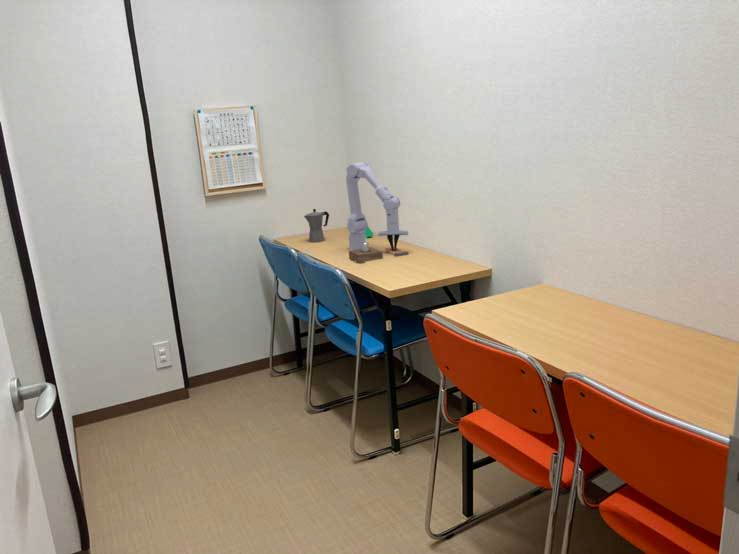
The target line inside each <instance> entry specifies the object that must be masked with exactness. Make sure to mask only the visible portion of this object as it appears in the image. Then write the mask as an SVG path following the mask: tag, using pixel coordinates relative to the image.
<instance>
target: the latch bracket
mask: <svg viewBox="0 0 739 554" xmlns="http://www.w3.org/2000/svg"><path fill="white" fill-rule="evenodd" d="M408 255H410V253H409V251H403V252H401V253H395V254H394V255H393V256H394V257H395V258H396V257H397V258H398V257H404V256H408Z"/></svg>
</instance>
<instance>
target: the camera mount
mask: <svg viewBox="0 0 739 554" xmlns="http://www.w3.org/2000/svg"><path fill="white" fill-rule="evenodd" d="M349 235H350V233H348V236H349ZM368 237H374V233H373V231H372V230H371V229H370V227H369V226H368V227H367V229H366V232H365V238H366V239H368Z"/></svg>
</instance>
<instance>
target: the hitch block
mask: <svg viewBox="0 0 739 554" xmlns="http://www.w3.org/2000/svg"><path fill="white" fill-rule="evenodd" d="M383 253H384V252H383V251H382V250H380V249H377V248H375V247H372V246H369V252H364V253H363V252H362V249H357V250H348V256H349V257H348V258H349V260H351V261H353V260H354V261H353V262H355V261H356V262H355V263H357V262H358V263H357V264H359V263H361V264H366V262H370V261H375V260H381V259H384V256H383V255H384V254H383Z"/></svg>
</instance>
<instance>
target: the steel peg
mask: <svg viewBox="0 0 739 554" xmlns="http://www.w3.org/2000/svg"><path fill="white" fill-rule="evenodd" d="M369 244H370V243H369V241H368V242H367V241H366V242H363V243H362V252H363V253H364V252H369V247H370V246H369Z"/></svg>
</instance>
